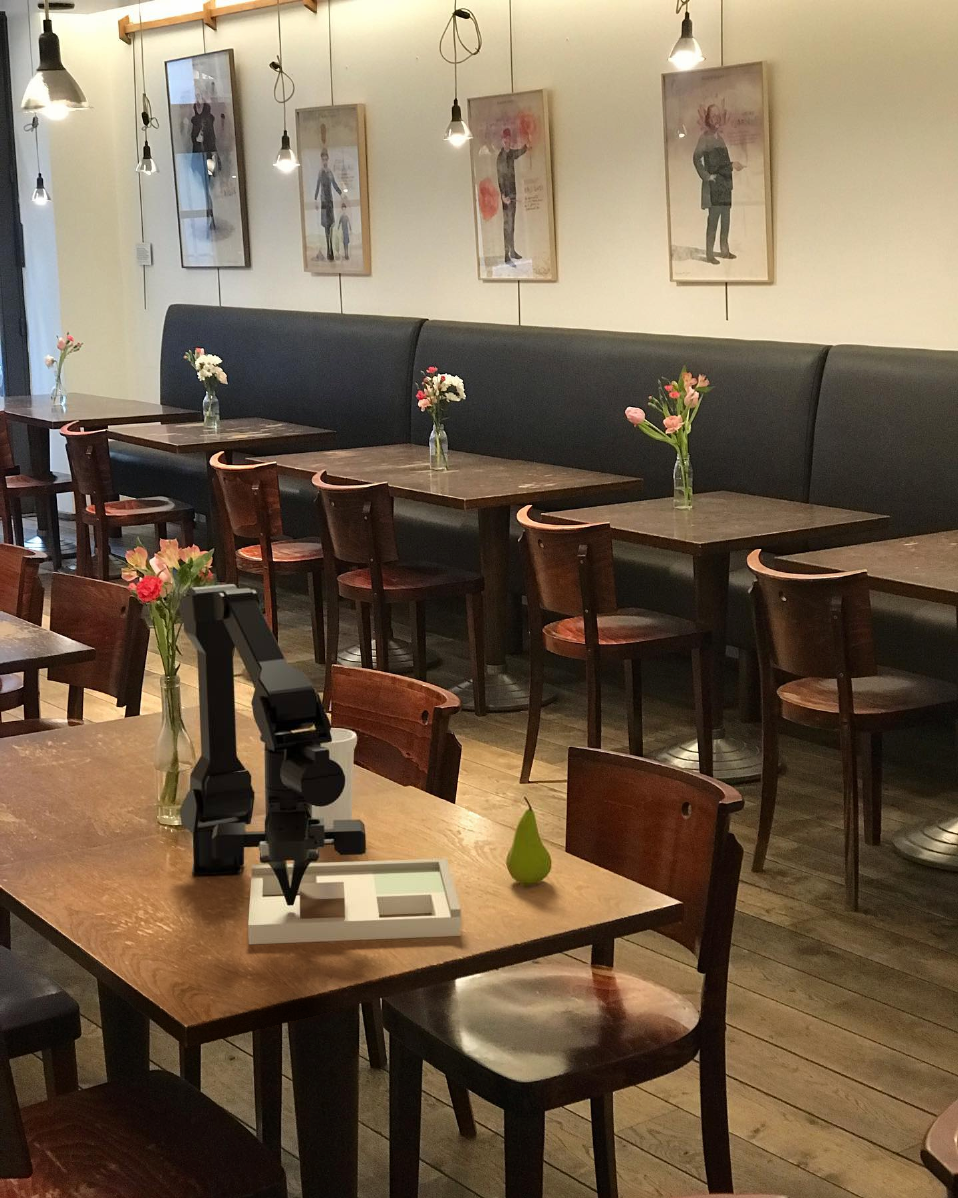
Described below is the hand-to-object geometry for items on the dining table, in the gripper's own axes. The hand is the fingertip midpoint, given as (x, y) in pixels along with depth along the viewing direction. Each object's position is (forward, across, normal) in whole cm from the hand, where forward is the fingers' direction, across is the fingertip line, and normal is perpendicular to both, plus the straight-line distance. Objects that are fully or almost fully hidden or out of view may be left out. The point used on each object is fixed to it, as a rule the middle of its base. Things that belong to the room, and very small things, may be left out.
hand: (290, 904), depth 199 cm
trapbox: (+3, +8, +5) cm, 10 cm away
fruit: (+4, +32, +13) cm, 35 cm away
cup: (+3, +6, +38) cm, 39 cm away
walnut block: (+1, +4, 0) cm, 4 cm away
